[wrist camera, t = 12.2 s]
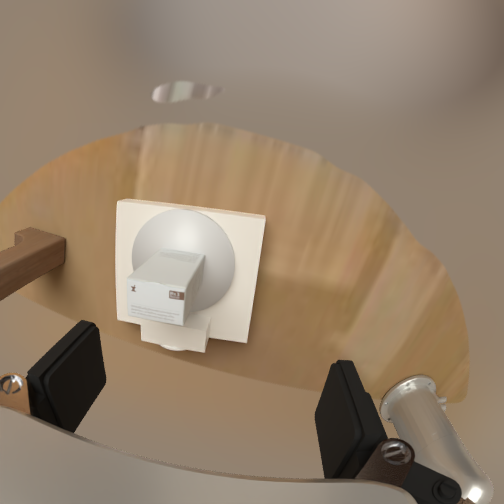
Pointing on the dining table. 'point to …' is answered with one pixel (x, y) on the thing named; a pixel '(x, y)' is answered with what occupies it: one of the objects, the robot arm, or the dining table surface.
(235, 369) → the dining table surface
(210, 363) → the dining table surface
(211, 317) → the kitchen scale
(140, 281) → the skincare box
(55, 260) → the wooden block
